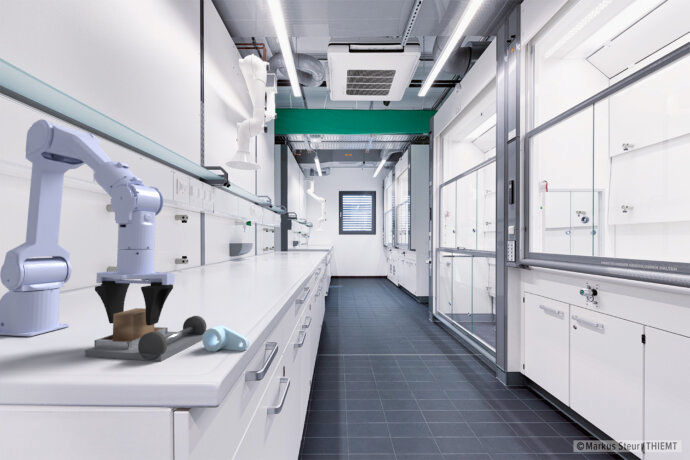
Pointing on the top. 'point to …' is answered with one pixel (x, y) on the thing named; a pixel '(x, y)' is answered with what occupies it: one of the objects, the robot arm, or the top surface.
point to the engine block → (130, 325)
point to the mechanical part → (224, 339)
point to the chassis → (151, 343)
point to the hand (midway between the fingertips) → (133, 323)
